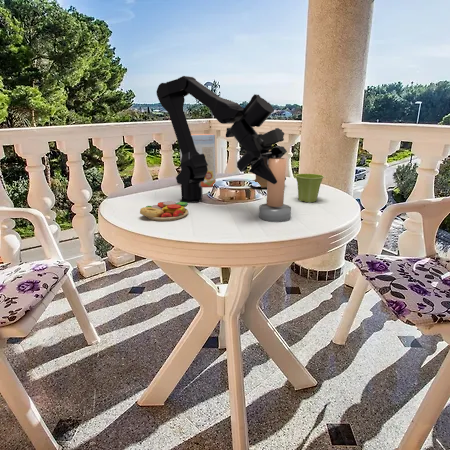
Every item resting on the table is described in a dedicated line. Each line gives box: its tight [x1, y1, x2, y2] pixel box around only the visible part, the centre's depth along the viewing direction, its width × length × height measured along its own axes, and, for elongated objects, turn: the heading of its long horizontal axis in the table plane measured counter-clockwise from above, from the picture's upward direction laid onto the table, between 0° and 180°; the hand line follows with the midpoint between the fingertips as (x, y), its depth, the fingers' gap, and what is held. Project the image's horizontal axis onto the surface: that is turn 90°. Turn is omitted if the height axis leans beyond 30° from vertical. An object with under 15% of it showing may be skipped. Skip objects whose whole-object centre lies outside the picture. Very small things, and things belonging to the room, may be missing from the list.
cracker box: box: [179, 133, 217, 188], centre depth 134 cm, size 14×6×21 cm, turn 98°
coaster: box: [258, 203, 292, 223], centre depth 95 cm, size 9×9×3 cm
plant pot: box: [294, 173, 325, 203], centre depth 113 cm, size 9×9×9 cm
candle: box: [265, 157, 287, 207], centre depth 92 cm, size 5×5×13 cm
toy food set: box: [139, 200, 189, 222], centre depth 97 cm, size 13×13×3 cm
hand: (280, 181), depth 91 cm, fingers closed on candle, 5 cm apart
